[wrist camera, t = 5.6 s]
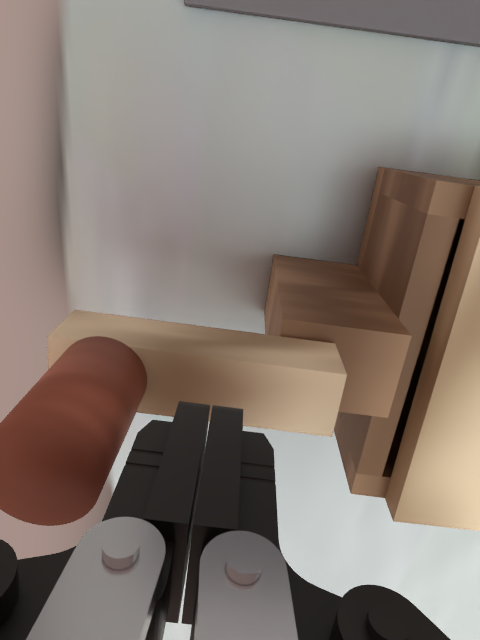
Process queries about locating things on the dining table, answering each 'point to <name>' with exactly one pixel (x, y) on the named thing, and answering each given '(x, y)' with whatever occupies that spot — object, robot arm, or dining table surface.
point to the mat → (371, 15)
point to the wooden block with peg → (148, 400)
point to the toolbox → (377, 312)
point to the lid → (446, 405)
